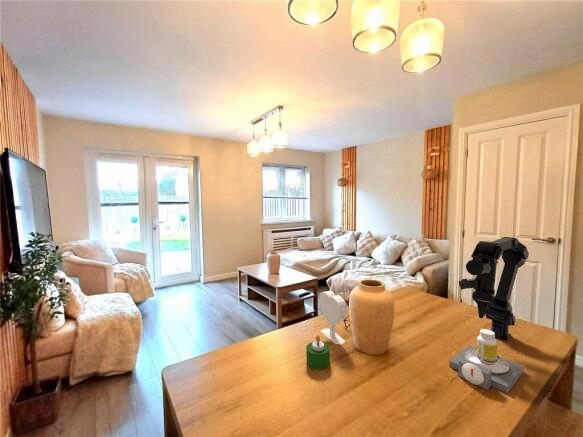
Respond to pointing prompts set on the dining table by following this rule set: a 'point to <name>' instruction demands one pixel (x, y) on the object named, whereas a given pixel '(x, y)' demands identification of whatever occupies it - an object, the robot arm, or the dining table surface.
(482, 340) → the supplement bottle
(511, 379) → the scale housing
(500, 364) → the scale pan
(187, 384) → the dining table surface
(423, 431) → the dining table surface
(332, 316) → the heart sculpture
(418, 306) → the dining table surface
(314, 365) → the candle
